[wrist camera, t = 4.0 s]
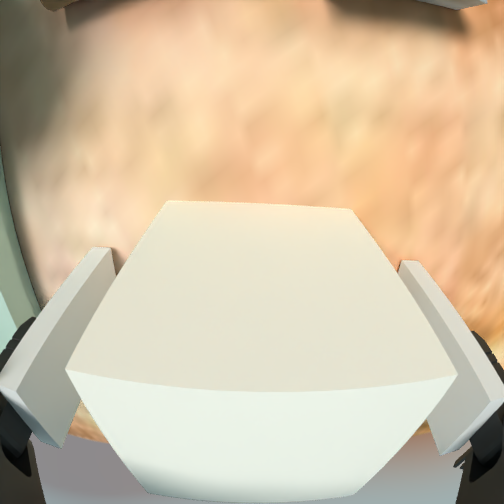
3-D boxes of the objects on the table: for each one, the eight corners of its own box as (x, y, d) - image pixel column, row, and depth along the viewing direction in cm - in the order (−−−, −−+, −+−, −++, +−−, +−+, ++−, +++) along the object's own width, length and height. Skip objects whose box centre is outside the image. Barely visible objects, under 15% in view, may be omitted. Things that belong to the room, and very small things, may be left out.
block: (180, 337, 13) (148, 493, 7) (167, 200, 10) (65, 368, 4) (321, 341, 13) (353, 495, 7) (350, 208, 10) (457, 374, 4)
